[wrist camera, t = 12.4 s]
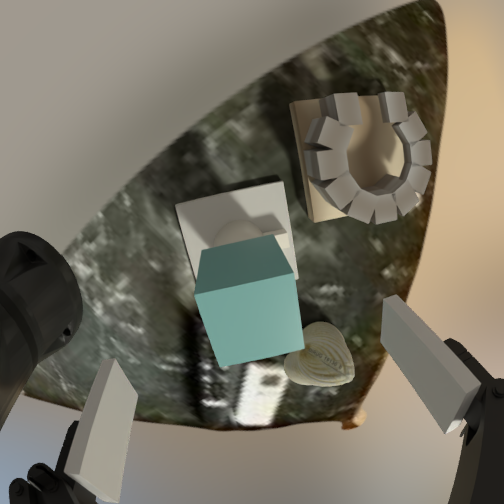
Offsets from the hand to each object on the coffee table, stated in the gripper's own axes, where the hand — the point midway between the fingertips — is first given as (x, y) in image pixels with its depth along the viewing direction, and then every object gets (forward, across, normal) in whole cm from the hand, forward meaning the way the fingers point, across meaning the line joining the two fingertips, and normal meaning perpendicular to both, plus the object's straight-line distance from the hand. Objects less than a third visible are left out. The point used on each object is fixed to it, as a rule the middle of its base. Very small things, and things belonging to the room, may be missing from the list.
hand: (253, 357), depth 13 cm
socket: (+16, +13, +6) cm, 22 cm away
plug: (+16, 0, 0) cm, 16 cm away
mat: (+17, +1, 0) cm, 17 cm away
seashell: (+17, +6, -16) cm, 24 cm away
